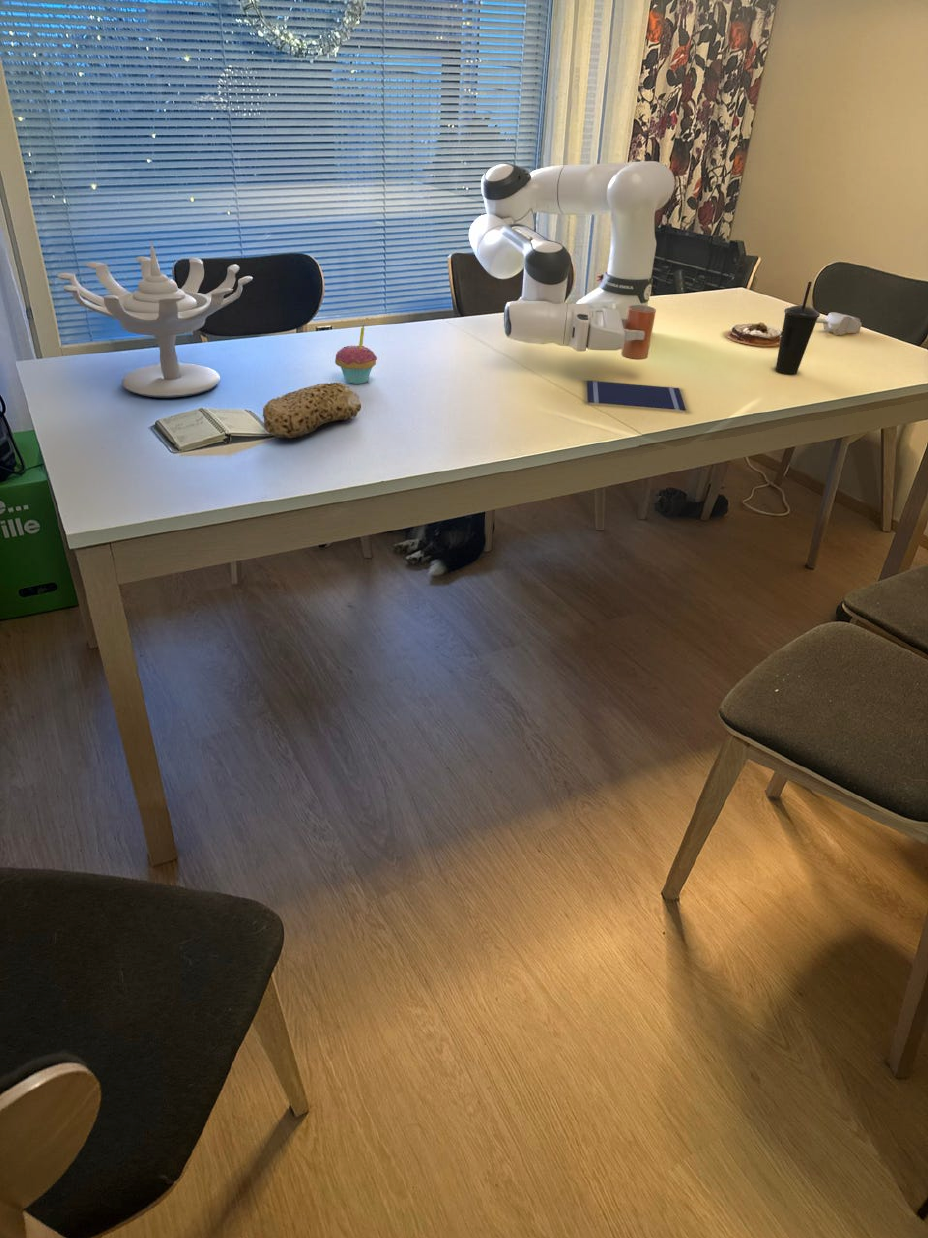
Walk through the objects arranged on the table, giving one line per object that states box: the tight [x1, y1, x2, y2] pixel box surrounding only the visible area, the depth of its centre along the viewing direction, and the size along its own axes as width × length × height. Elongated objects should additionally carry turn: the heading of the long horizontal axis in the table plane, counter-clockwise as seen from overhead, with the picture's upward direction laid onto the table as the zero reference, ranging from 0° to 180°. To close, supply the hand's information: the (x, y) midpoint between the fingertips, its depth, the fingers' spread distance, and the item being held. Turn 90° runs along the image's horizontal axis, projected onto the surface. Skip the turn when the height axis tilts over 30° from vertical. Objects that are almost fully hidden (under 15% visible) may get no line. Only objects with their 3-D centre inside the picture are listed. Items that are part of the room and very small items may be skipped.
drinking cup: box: [775, 281, 821, 376], centre depth 190 cm, size 8×8×20 cm
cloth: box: [586, 380, 687, 412], centre depth 176 cm, size 20×14×1 cm
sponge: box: [262, 382, 362, 439], centre depth 151 cm, size 13×8×20 cm
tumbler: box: [620, 305, 657, 361], centre depth 179 cm, size 6×6×10 cm
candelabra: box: [56, 241, 253, 399], centre depth 161 cm, size 34×35×27 cm
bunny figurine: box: [815, 311, 863, 336], centre depth 226 cm, size 10×5×15 cm
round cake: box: [725, 322, 782, 347], centre depth 217 cm, size 15×15×4 cm
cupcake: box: [334, 323, 378, 385], centre depth 172 cm, size 9×8×12 cm
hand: (642, 330), depth 179 cm, fingers closed on tumbler, 6 cm apart
